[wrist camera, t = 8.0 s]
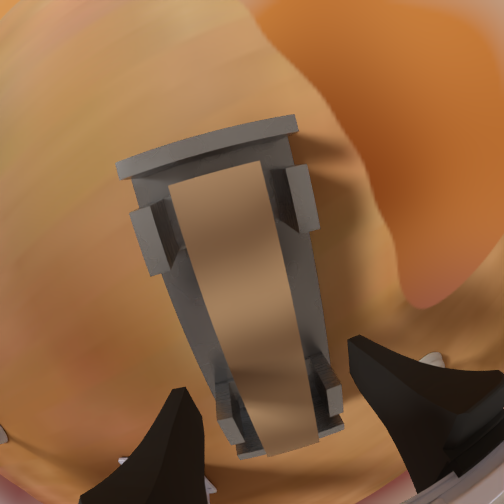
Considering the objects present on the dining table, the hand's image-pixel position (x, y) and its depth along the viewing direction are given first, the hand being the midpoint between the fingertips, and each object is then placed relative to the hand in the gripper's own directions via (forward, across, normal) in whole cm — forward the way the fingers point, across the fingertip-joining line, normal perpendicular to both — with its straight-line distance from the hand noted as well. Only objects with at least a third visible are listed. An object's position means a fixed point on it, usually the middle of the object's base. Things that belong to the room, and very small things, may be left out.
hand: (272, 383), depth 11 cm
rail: (+6, 0, 0) cm, 7 cm away
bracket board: (+8, 0, 0) cm, 8 cm away
